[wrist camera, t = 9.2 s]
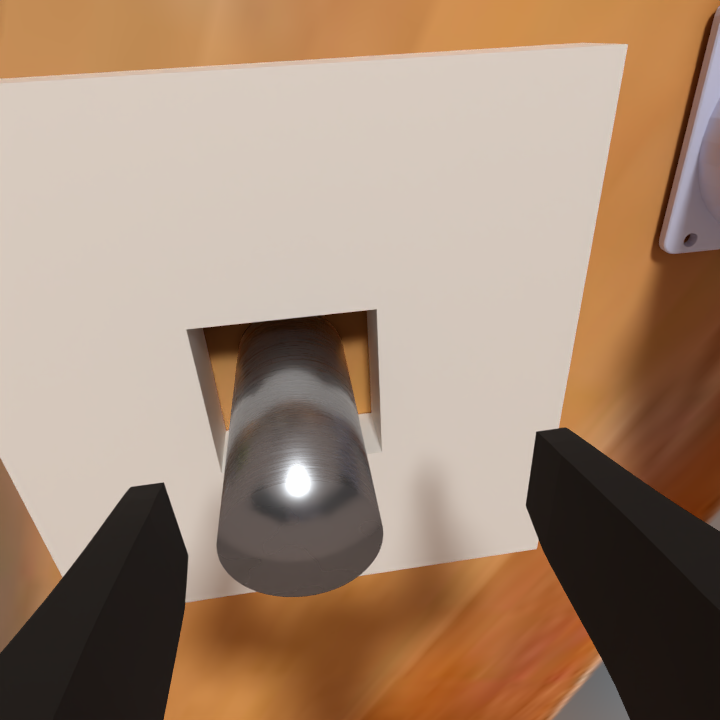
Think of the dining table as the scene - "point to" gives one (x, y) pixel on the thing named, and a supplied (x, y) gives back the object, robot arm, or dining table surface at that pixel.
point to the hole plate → (298, 276)
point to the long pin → (296, 465)
